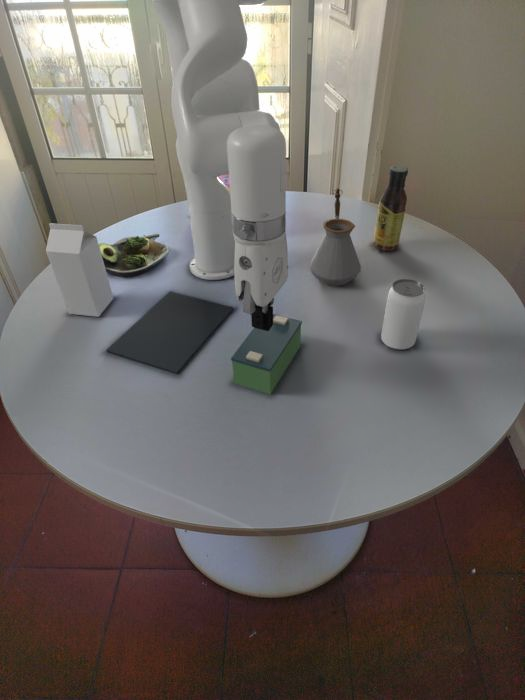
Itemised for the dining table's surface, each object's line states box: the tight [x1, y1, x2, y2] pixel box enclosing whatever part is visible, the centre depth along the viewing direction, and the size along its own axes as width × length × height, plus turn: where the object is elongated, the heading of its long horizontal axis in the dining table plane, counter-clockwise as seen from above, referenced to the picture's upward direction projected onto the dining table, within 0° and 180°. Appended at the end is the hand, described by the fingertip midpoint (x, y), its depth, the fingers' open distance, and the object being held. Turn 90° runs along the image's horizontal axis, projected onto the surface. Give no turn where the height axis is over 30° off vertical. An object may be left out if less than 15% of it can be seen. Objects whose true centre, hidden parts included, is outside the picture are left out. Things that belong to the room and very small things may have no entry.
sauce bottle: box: [373, 164, 409, 252], centre depth 112 cm, size 7×6×20 cm
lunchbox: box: [230, 313, 303, 395], centre depth 84 cm, size 6×7×14 cm
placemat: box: [106, 291, 234, 375], centre depth 94 cm, size 22×16×1 cm
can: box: [380, 278, 426, 351], centre depth 86 cm, size 6×6×12 cm
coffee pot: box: [309, 188, 362, 287], centre depth 107 cm, size 21×12×15 cm, turn 174°
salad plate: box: [98, 233, 170, 278], centre depth 117 cm, size 19×18×5 cm
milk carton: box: [45, 222, 114, 318], centre depth 95 cm, size 7×7×19 cm
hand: (262, 326), depth 78 cm, fingers closed
